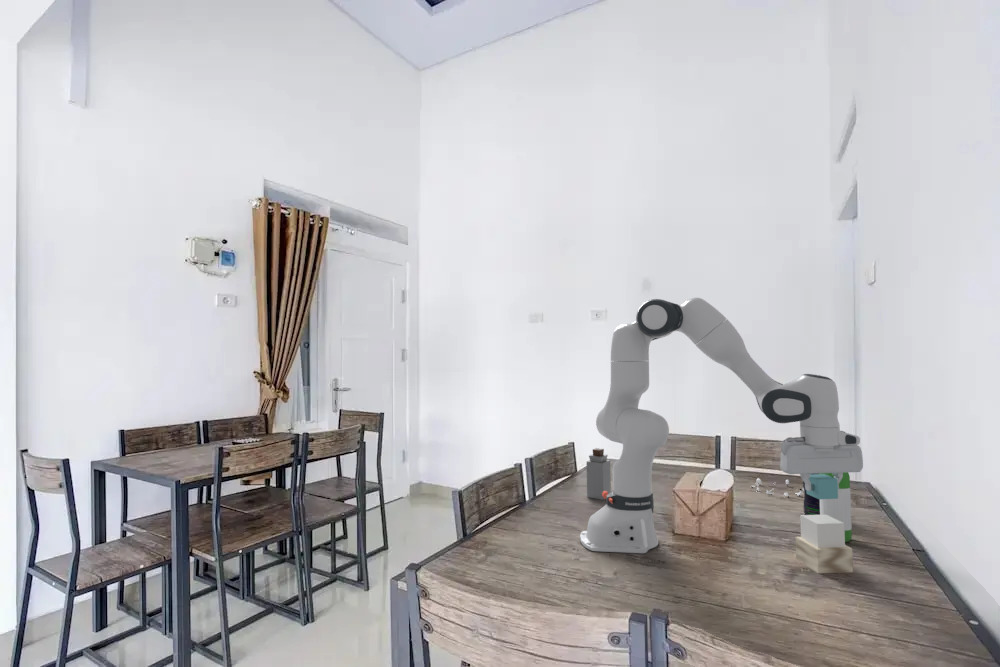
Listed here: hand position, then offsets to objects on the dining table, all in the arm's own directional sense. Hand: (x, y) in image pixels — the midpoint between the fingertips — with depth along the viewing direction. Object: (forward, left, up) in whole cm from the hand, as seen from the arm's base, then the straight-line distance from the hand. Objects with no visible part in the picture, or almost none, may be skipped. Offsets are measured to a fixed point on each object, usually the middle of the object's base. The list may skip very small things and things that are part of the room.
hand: (821, 489), depth 135 cm
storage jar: (+23, +35, -20) cm, 46 cm away
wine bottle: (+16, +18, -20) cm, 31 cm away
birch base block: (0, 0, -20) cm, 20 cm away
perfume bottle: (-43, +67, -20) cm, 82 cm away
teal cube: (0, 0, -2) cm, 2 cm away
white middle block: (0, 0, -14) cm, 14 cm away
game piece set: (+29, +69, -20) cm, 77 cm away
